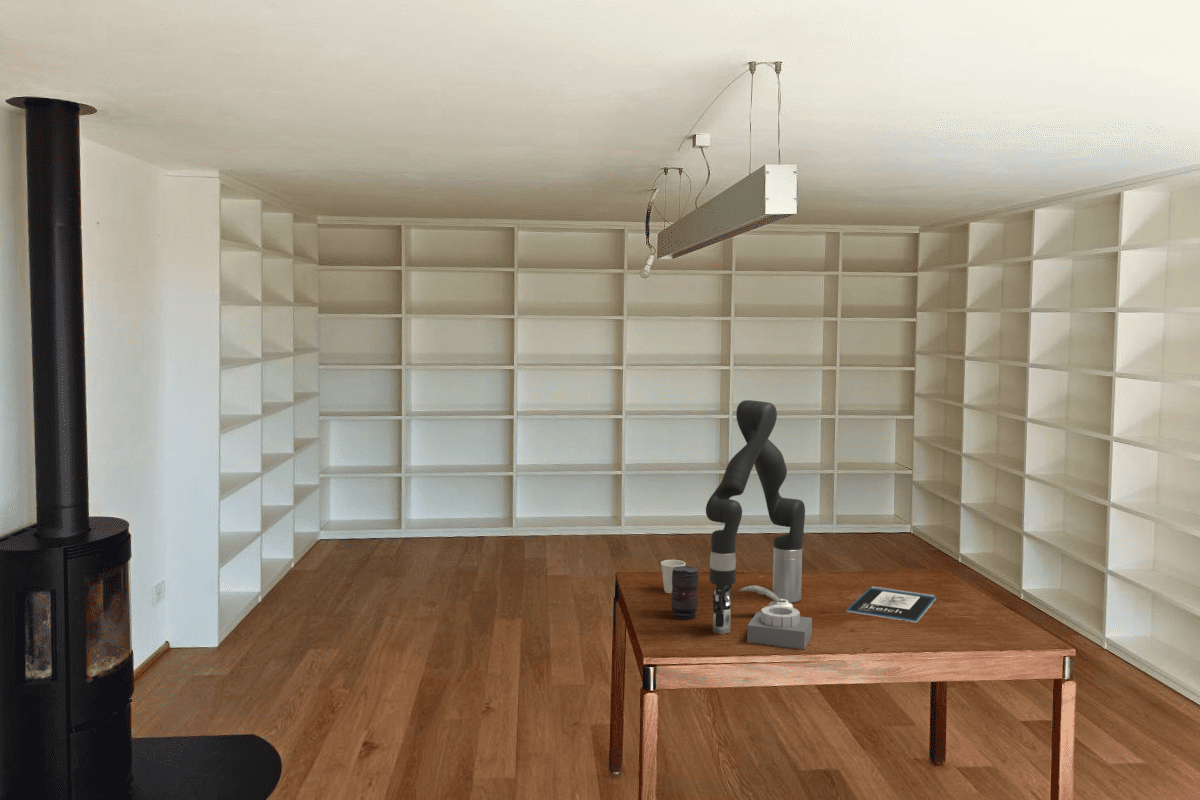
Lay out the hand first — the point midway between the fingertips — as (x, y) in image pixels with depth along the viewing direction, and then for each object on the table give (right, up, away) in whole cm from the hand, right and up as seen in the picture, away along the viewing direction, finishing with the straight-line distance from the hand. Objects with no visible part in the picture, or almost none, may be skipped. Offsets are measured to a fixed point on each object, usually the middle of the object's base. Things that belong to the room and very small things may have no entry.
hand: (721, 623), depth 285 cm
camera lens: (-10, -1, +14) cm, 17 cm away
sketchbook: (+59, -1, +29) cm, 65 cm away
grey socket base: (+16, -3, -6) cm, 17 cm away
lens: (0, -2, 0) cm, 2 cm away
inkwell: (+16, -2, +14) cm, 21 cm away
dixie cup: (-11, +1, +42) cm, 43 cm away
